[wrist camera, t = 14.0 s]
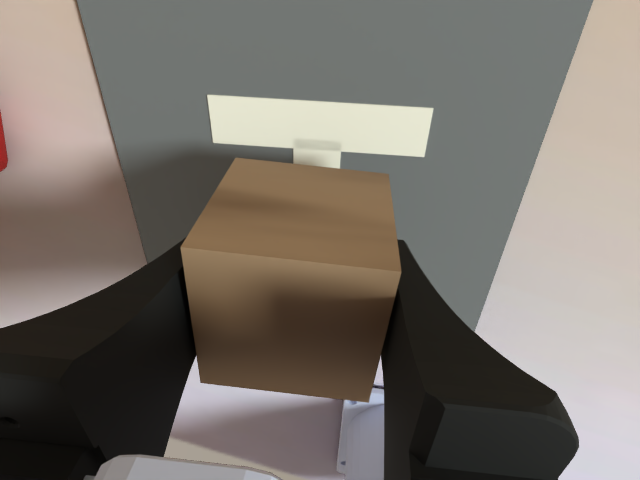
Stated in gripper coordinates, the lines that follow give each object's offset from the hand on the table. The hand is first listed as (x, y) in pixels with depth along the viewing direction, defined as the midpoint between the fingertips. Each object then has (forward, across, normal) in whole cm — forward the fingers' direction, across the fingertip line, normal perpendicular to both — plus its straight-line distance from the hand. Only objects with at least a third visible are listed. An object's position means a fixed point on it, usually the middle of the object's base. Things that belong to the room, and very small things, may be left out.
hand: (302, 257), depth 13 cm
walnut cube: (+2, 0, 0) cm, 2 cm away
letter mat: (+4, 0, 0) cm, 4 cm away
